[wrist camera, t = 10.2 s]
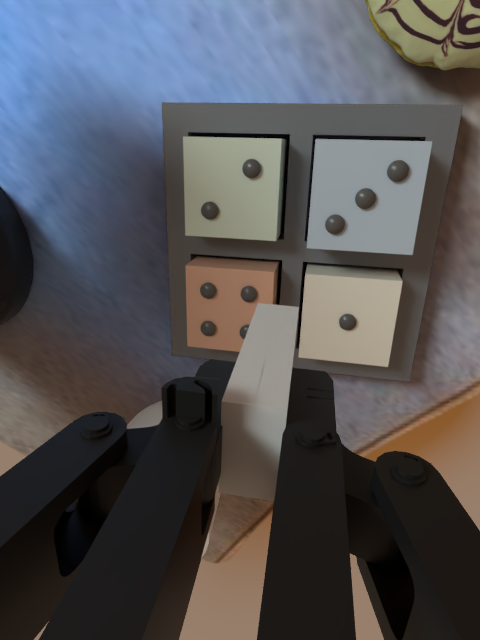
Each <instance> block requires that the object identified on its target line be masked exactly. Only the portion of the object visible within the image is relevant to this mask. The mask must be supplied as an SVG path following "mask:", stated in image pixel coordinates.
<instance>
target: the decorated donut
mask: <svg viewBox="0 0 480 640" xmlns="http://www.w3.org/2000/svg"><path fill="white" fill-rule="evenodd" d="M365 1H366V4H367V6H368V8H369V18H370V20H371V22H372V24H373V26H374V28H375V30H376V31H377V33H378V34H379V35H380V37H381V38H383V39H384V40H385V41H387V42H388V43H389V44H390V45H391V46H392V47H393V48H394V49H395V50H396V52H397V53H398V54H399V55H401V56H402V57H403V59H404V60H406V61H408V62H410V63H413V64H416V65H418V66H430V67H435V68H440V69H442V70H450V69H454V68H459V67H463V68H479V69H480V0H365Z"/></svg>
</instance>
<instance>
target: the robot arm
mask: <svg viewBox="0 0 480 640" xmlns="http://www.w3.org/2000/svg"><path fill="white" fill-rule="evenodd" d="M32 275H33V261H32V253H31V247H30V243H29V239H28V236H27V233H26V231H25V228H24V225H23V223H22V221H21V219H20V217H19V215H18V213H17V212H16V210H15V208H14V207H13V205H12V204H11V202H10V201H9V199H8V198H7V197H6V195H5V194H4V193H3V192H2V191H1V189H0V325H1V324H3V323H5V322H6V321H8V320H10V319H11V318H12V317H13V316H14V315H15V314H16V313H17V312H18V311H19V310H20V309H21V307H22V306H23V304H24V303H25V301H26V299H27V296H28V294H29V291H30V287H31V283H32ZM298 311H299V307H293V306H283V305H273V304H263V303H258V304H257V307H256V310H255V312H254V315H253V318H252V320H251V323H250V326H249V328H248V331H247V334H246V337H245V339H244V342H243V345H242V347H241V350H240V353H239V355H238V358H237V361H236V362H232V361H223V360H215V359H210V360H209V361H207V362H206V363H204V364H203V365H201V366H200V368H199V369H198V371H197V373H196V375H195V377H182V378H177V379H174V380H172V381H169V382H167V383H166V384H165V385H164V386H163V387H162V417H163V418H162V420H161V421H160V423H159V425H155V426H151V427H145V428H132V429H127V424H126V422H125V420H124V419H123V417H121V416H119V415H117V414H115V413H109V412H97V413H92V414H88V415H85V416H82V417H80V418H79V419H77V420H75V421H73V422H72V423H71V424H69V425H68V426H67V427H65V428H64V429H63V430H61V431H60V432H59V433H57V434H56V435H55V436H53V437H52V438H51V439H49V440H48V441H47V442H45V443H44V444H43V445H41V446H40V447H39V448H37V449H36V450H35V451H33V452H32V453H31V454H30V455H28V456H27V457H26V458H24V459H23V460H22V461H20V462H19V463H18V464H16V465H15V466H14V467H12V468H11V469H10V470H8V471H7V472H6V473H4V474H3V475H2V476H0V640H34V638H35V637H36V636H37V635H38V633H39V632H40V631H41V630H42V629H43V627H44V626H45V625H46V624H47V623H48V621H49V620H50V621H49V623H48V624H47V626H46V628H45V630H44V631H43V633H42V635H41V637H40V639H39V640H179V637H180V633H181V630H182V626H183V622H184V619H185V615H186V612H187V608H188V604H189V601H190V597H191V593H192V590H193V586H194V583H195V579H196V575H197V572H198V568H199V564H200V561H201V557H202V554H203V550H204V546H205V543H206V539H207V536H208V532H209V528H210V525H211V521H212V517H213V514H214V510H215V492H216V489H217V486H218V482H219V493H222V494H228V495H234V496H240V497H247V498H253V499H259V500H265V501H272V502H274V507H273V515H272V523H271V531H270V539H269V547H268V555H267V564H266V571H265V579H264V587H263V595H262V603H261V611H260V620H259V627H258V636H257V640H356V633H355V620H354V607H353V593H352V580H351V566H350V553H351V554H353V555H355V556H356V557H357V564H358V567H359V569H360V572H361V575H362V578H363V581H364V584H365V586H366V589H367V592H368V595H369V598H370V601H371V603H372V606H373V609H374V612H375V615H376V617H377V620H378V623H379V626H380V629H381V632H382V634H383V637H384V640H480V531H479V529H478V528H477V526H476V525H475V523H474V522H473V521H472V519H471V518H470V516H469V515H468V513H467V512H466V510H465V509H464V508H463V506H462V505H461V503H460V502H459V500H458V499H457V498H456V496H455V495H454V493H453V492H452V490H451V489H450V487H449V486H448V485H447V483H446V482H445V480H444V479H443V477H442V476H441V474H440V473H439V472H438V471H437V470H436V469H435V468H434V467H433V466H432V465H431V463H429V462H427V461H426V460H424V459H422V458H421V457H419V456H416V455H413V454H410V453H407V452H398V451H393V452H387V453H384V454H382V455H381V456H379V457H378V458H377V460H376V462H374V461H372V460H369V459H366V458H363V457H361V456H359V455H357V454H355V453H353V452H351V451H350V450H348V449H347V448H346V447H345V446H344V445H343V444H342V443H341V440H340V437H339V435H338V434H337V433H336V419H335V404H334V388H333V380H332V379H331V378H330V376H329V375H328V374H327V373H326V371H318V370H310V369H301V368H293V360H294V350H295V341H296V331H297V321H298Z"/></svg>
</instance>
